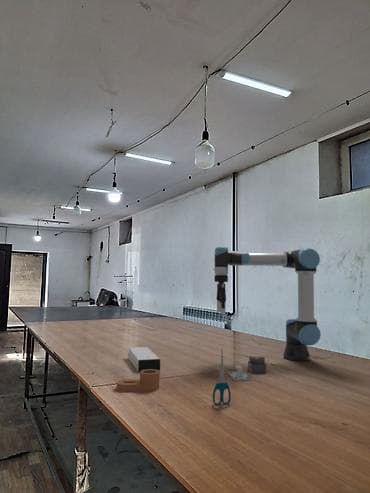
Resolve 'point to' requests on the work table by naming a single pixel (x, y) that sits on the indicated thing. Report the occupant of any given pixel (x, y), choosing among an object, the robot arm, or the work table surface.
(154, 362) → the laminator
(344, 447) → the work table surface
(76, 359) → the work table surface
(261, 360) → the knob
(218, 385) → the scissors
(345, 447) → the work table surface
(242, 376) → the mounting plate
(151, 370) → the bracket
